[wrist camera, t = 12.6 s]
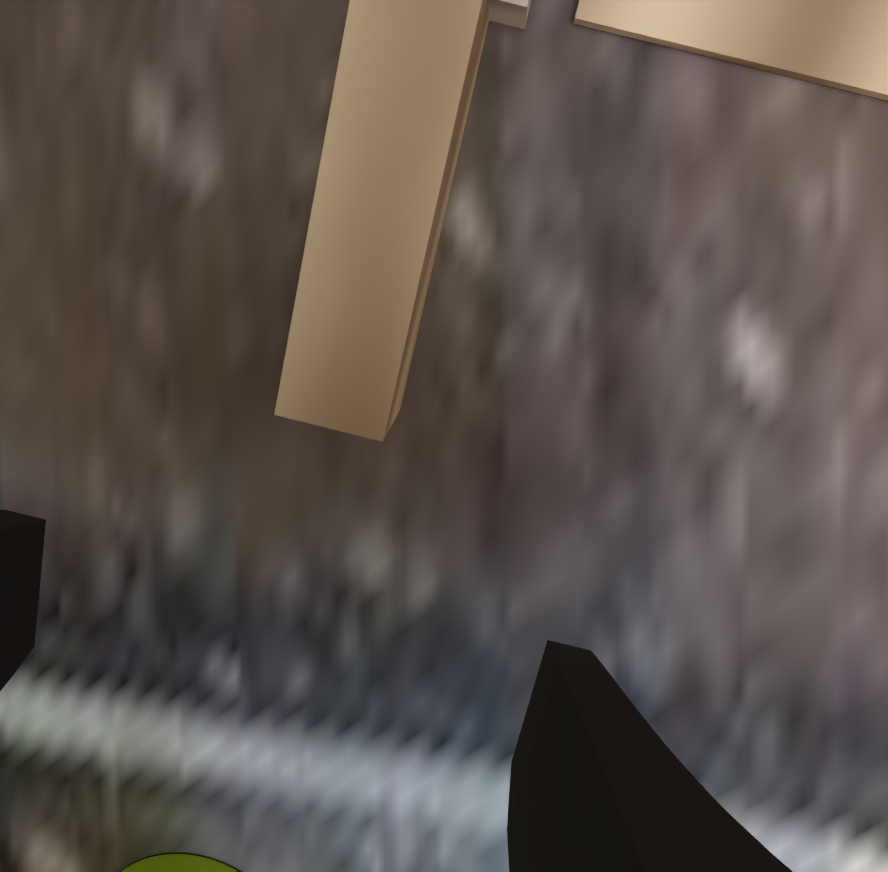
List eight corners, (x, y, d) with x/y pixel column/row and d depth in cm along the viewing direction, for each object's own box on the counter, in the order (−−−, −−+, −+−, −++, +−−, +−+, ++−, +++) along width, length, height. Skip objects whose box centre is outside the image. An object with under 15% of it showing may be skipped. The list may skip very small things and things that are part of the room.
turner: (276, 377, 20) (237, 405, 17) (395, -284, 16) (372, -392, 13) (431, 416, 20) (419, 450, 17) (588, -237, 16) (606, -335, 13)
